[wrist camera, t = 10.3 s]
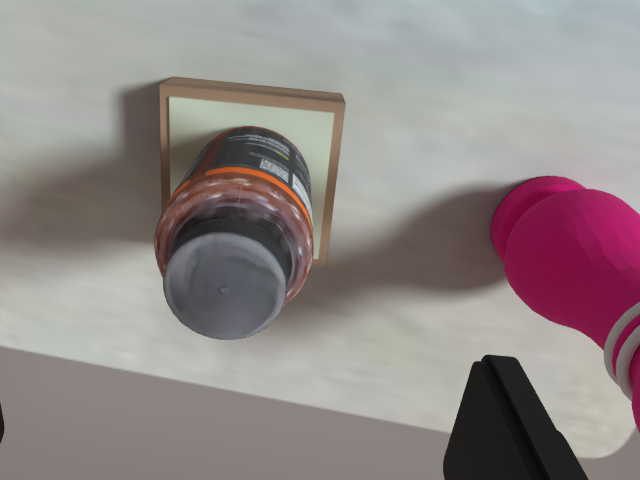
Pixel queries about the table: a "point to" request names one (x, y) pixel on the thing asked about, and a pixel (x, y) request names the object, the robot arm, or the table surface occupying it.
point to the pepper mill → (577, 266)
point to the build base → (262, 111)
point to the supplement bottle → (237, 234)
